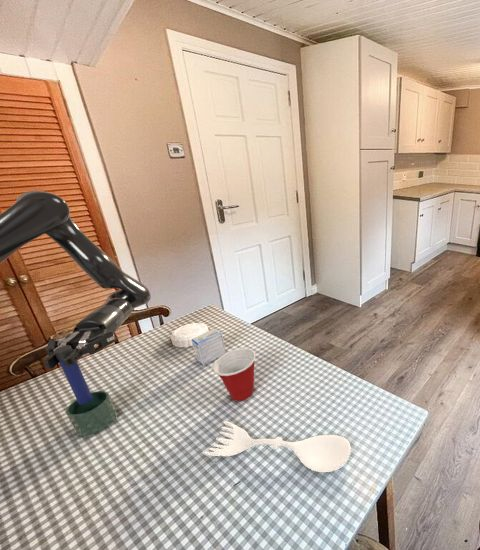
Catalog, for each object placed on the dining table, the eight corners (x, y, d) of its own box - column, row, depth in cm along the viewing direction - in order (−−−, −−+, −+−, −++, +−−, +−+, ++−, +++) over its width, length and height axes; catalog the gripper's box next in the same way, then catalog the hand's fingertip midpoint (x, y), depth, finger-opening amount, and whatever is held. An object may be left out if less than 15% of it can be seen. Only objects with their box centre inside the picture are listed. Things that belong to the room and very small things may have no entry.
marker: (75, 406, 71) (50, 353, 66) (82, 397, 74) (59, 346, 68) (89, 404, 72) (65, 351, 67) (95, 395, 75) (73, 344, 69)
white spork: (226, 428, 75) (223, 418, 73) (354, 442, 71) (353, 431, 70) (203, 463, 66) (200, 452, 65) (347, 480, 63) (346, 469, 61)
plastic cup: (221, 387, 88) (212, 353, 83) (260, 376, 92) (254, 343, 87) (220, 414, 79) (211, 377, 74) (263, 401, 83) (257, 366, 78)
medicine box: (219, 349, 105) (214, 327, 102) (226, 353, 102) (222, 332, 99) (196, 361, 99) (190, 338, 96) (203, 366, 96) (197, 343, 93)
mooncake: (194, 326, 118) (192, 319, 117) (216, 333, 114) (214, 325, 113) (164, 343, 108) (162, 335, 107) (188, 351, 104) (185, 342, 102)
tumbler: (68, 440, 72) (57, 418, 69) (88, 414, 79) (79, 394, 76) (107, 433, 73) (97, 412, 71) (123, 409, 81) (115, 388, 78)
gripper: (65, 314, 78) (9, 354, 63) (127, 308, 81) (88, 345, 66) (75, 339, 81) (24, 383, 65) (135, 332, 84) (100, 373, 68)
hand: (57, 364), depth 66 cm, fingers closed on marker, 3 cm apart
